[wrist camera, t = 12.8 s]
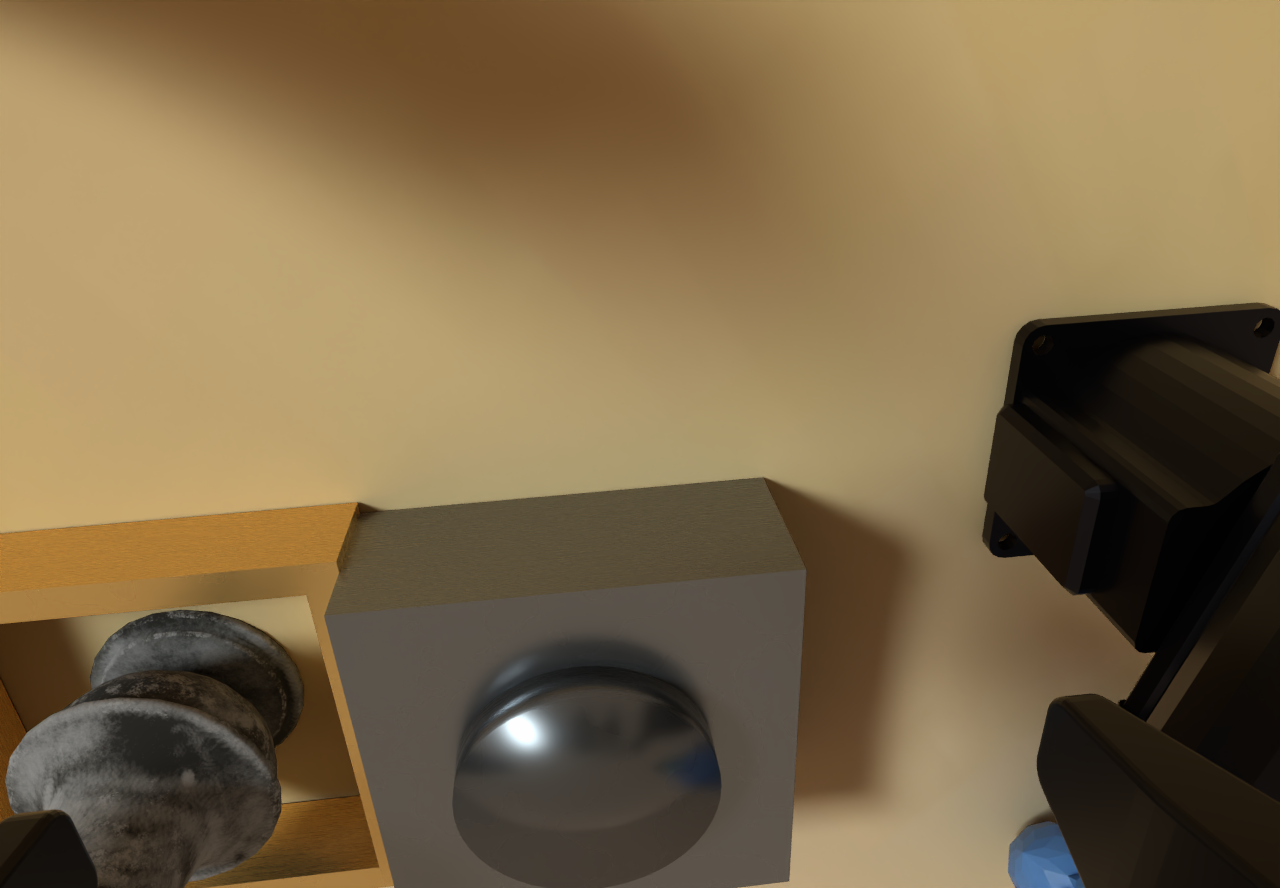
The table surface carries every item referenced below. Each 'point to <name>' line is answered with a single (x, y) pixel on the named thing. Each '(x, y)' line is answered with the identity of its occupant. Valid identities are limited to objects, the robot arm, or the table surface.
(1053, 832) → the grapes
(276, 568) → the two-tone flat frame block
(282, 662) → the dark grey tall piece
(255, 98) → the table surface
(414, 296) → the table surface
